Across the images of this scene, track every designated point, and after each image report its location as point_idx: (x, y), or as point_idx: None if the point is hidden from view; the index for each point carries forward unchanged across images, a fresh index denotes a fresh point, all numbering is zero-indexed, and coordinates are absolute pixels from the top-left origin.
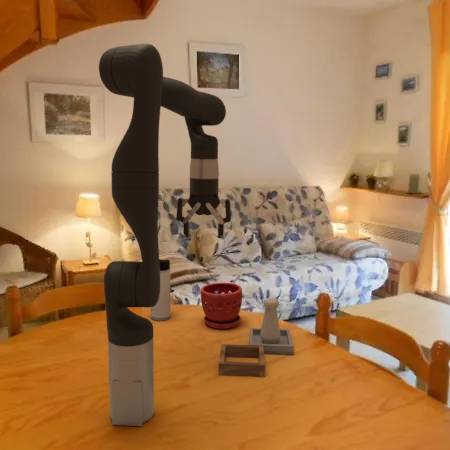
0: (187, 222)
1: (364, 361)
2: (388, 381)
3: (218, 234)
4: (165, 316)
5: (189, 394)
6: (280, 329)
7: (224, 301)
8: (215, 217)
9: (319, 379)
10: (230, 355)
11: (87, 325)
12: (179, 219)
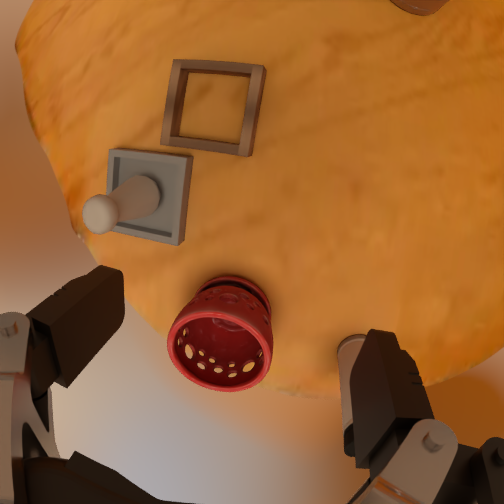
0: (401, 439)
1: (38, 130)
2: (34, 75)
3: (101, 277)
4: (350, 341)
5: (325, 14)
6: (120, 230)
7: (216, 301)
8: (10, 373)
9: (102, 64)
10: (232, 143)
11: (481, 324)
12: (493, 449)
